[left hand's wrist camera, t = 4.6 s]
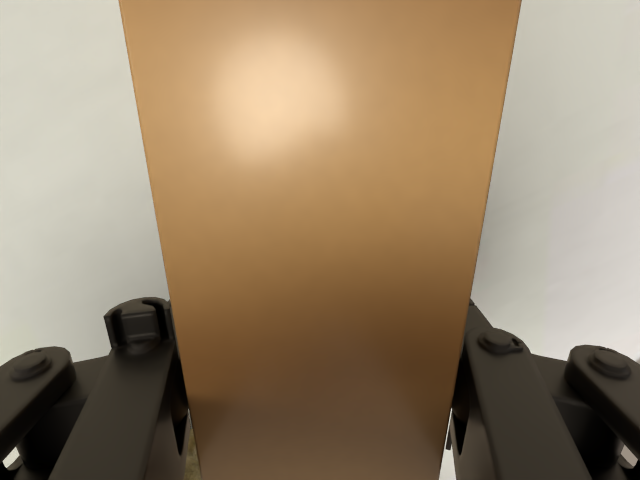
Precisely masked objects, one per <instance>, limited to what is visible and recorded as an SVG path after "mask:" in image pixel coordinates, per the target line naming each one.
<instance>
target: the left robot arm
mask: <svg viewBox="0 0 640 480" xmlns="http://www.w3.org/2000/svg"><path fill="white" fill-rule="evenodd" d="M104 320H105V324H106V328H107V332H108V336H109V340H110V344H111V348H112V349H111V351H110V353H109V355H108V356H104V357H100V358H95V359H90V360H85V361H80V362H75V363H73V361H72V358H71V355H70V352H69V351H68V350H66V349H65V348H62V347H55V346H54V347H45V348H38V349H35V350H30V351H27V352H25V353H23V354H21V355H19V356H17V357H15V358H13V359H11V360H10V361H8V362H6V363H5V364H3V365H2V366H0V480H184V474H185V466H186V458H187V450H188V442H189V433H190V420H189V414H188V409H189V405H188V399H187V393H186V388H185V382H184V376H183V370H182V364H181V359H180V353H179V347H178V341H177V336H176V330H175V324H174V318H173V312H172V307H171V301H170V300H169V301H168V302H167V301H166V300H164V299H161V298H157V297H144V298H138V299H133V300H130V301H127V302H124V303H121V304H119V305H117V306H116V307H114V308H112V309H111V310H109V311H108V312H107V313H106V314H105V315H104ZM451 408H452V414H451V419H450V425H449V431H448V437H447V443H446V449H447V450H451V444H452V449H453V457H454V465H455V473H456V480H640V364H638V363H637V362H635V361H633V360H632V359H630V358H629V357H627V356H625V355H623V354H620V353H618V352H617V351H615V350H612V349H609V348H605V347H601V346H593V345H581V346H575V347H574V348H573V349H572V350H570V354H569V357H568V360H567V361H563V360H558V359H553V358H548V357H543V356H538V355H535V354H531V353H530V350H529V348H528V347H527V346H526V345H525V343H524V342H523V341H522V340H521V339H519V338H518V337H516V336H515V335H513V334H511V333H509V332H506V331H504V330H501V329H497V328H493V327H492V326H491V324H490V323H489V322H488V320H487V319H486V318H485V317H484V315H483V314H482V313H481V311H480V310H479V309H478V308H477V306H475V305H474V302H473V301H472V300H471V299H470V302H469V307H468V313H467V319H466V325H465V330H464V336H463V342H462V348H461V354H460V359H459V365H458V371H457V377H456V382H455V388H454V394H453V400H452V406H451ZM624 444H625V445H626V446H627V448H628V449H629V450H630V451H631V452H632V453H633V454H634V455H635V456H636V458H637V459H638V461H637V463H636V465H635V466H634V467H633V466H632V465H631V464H630V463H629V462H627V461H626V459H625V458H624V457H623V456H622V455H621V451H622V449H623V447H624ZM15 447H16V448H17V450H18V452H19V455H20V456H19V457H18V458H17V459H16V460H15V461H14V462H13V463H12V464H11V465H10V466H9V467H7V468H6V467H5V466H4V464H3V462H2V461H3V460H4V459H5V458H6V457H7V456H8V454H9V453H10V452H11V451H12V450H13V449H14V448H15Z"/></svg>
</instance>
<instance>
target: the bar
mask: <svg viewBox="0 0 640 480" xmlns="http://www.w3.org/2000/svg"><path fill="white" fill-rule="evenodd" d="M521 1H522V0H119V6H120V11H121V17H122V23H123V29H124V34H125V40H126V46H127V52H128V58H129V63H130V69H131V75H132V81H133V87H134V92H135V98H136V104H137V110H138V116H139V121H140V127H141V133H142V139H143V144H144V150H145V156H146V162H147V168H148V173H149V179H150V185H151V191H152V197H153V202H154V208H155V214H156V220H157V226H158V231H159V237H160V243H161V249H162V254H163V260H164V266H165V272H166V278H167V283H168V289H169V295H170V301H171V307H172V312H173V318H174V324H175V330H176V336H177V341H178V347H179V353H180V359H181V364H182V370H183V376H184V382H185V388H186V393H187V399H188V405H189V411H190V417H191V422H192V428H193V434H194V440H195V446H196V451H197V457H198V463H199V469H200V474H201V480H439V475H440V469H441V463H442V457H443V452H444V446H445V440H446V434H447V429H448V423H449V417H450V411H451V406H452V400H453V394H454V388H455V382H456V377H457V371H458V365H459V359H460V354H461V348H462V342H463V336H464V330H465V325H466V319H467V313H468V307H469V302H470V296H471V290H472V284H473V278H474V273H475V267H476V261H477V255H478V250H479V244H480V238H481V232H482V226H483V221H484V215H485V209H486V203H487V198H488V192H489V186H490V180H491V174H492V169H493V163H494V157H495V151H496V146H497V140H498V134H499V128H500V122H501V117H502V111H503V105H504V99H505V94H506V88H507V82H508V76H509V70H510V65H511V59H512V53H513V47H514V42H515V36H516V30H517V24H518V18H519V13H520V7H521Z"/></svg>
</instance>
